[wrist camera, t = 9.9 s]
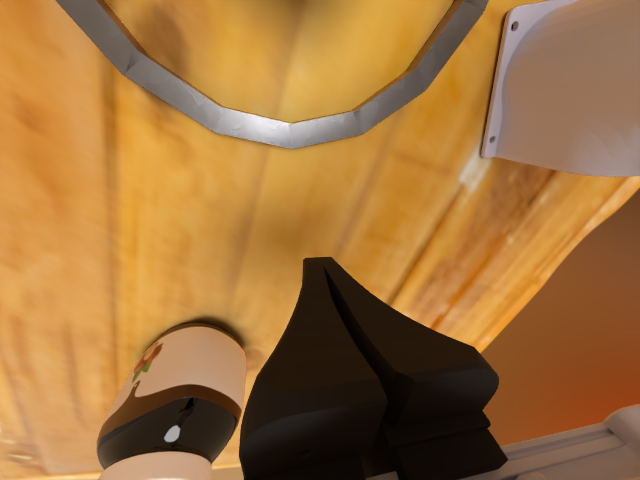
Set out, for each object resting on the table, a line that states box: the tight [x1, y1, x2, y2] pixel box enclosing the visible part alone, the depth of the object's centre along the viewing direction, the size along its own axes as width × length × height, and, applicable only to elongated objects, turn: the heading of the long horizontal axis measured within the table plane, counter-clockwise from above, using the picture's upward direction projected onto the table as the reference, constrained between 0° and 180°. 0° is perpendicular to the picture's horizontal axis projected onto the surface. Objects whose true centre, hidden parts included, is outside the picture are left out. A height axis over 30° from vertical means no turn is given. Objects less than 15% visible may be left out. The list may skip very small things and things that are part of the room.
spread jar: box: [97, 323, 247, 480], centre depth 21 cm, size 12×11×12 cm
